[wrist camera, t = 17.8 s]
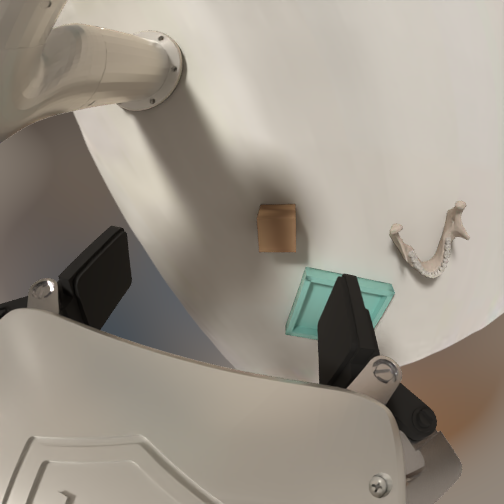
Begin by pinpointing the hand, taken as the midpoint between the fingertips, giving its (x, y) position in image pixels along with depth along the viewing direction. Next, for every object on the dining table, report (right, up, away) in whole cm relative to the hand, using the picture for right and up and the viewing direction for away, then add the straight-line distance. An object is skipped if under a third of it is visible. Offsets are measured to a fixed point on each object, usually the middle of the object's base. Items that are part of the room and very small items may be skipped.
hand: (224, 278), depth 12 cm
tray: (+17, -9, +36) cm, 41 cm away
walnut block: (+5, +6, +29) cm, 30 cm away
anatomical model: (+28, +4, +27) cm, 39 cm away
